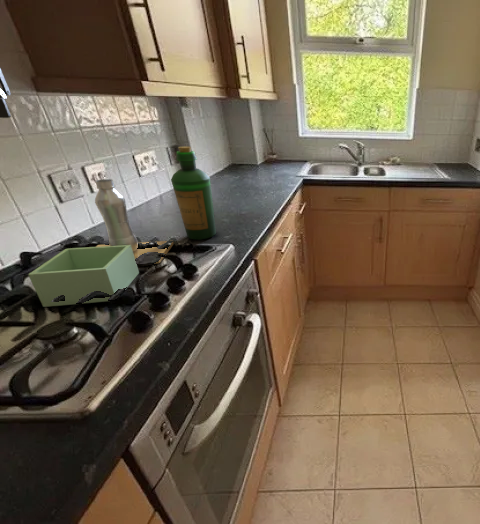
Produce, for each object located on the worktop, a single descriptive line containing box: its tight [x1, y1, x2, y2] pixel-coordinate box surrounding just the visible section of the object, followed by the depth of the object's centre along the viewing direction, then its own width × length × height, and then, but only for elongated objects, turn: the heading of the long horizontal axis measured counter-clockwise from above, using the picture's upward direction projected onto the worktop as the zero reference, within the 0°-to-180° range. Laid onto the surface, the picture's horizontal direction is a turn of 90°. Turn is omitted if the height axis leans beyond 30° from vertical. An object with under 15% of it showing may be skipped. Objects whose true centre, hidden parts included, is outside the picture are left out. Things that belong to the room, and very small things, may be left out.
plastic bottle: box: [94, 178, 139, 251], centre depth 89 cm, size 6×7×20 cm
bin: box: [27, 245, 140, 308], centre depth 76 cm, size 14×14×8 cm
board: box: [95, 240, 174, 265], centre depth 94 cm, size 20×14×1 cm
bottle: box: [170, 146, 217, 241], centre depth 103 cm, size 11×11×28 cm
